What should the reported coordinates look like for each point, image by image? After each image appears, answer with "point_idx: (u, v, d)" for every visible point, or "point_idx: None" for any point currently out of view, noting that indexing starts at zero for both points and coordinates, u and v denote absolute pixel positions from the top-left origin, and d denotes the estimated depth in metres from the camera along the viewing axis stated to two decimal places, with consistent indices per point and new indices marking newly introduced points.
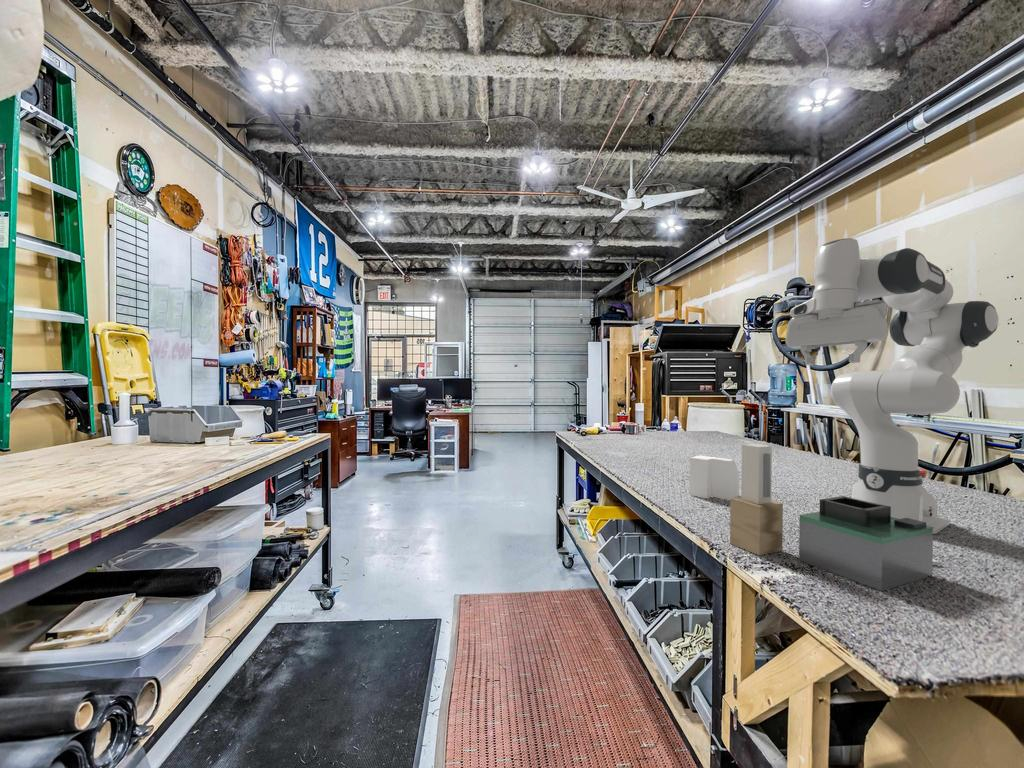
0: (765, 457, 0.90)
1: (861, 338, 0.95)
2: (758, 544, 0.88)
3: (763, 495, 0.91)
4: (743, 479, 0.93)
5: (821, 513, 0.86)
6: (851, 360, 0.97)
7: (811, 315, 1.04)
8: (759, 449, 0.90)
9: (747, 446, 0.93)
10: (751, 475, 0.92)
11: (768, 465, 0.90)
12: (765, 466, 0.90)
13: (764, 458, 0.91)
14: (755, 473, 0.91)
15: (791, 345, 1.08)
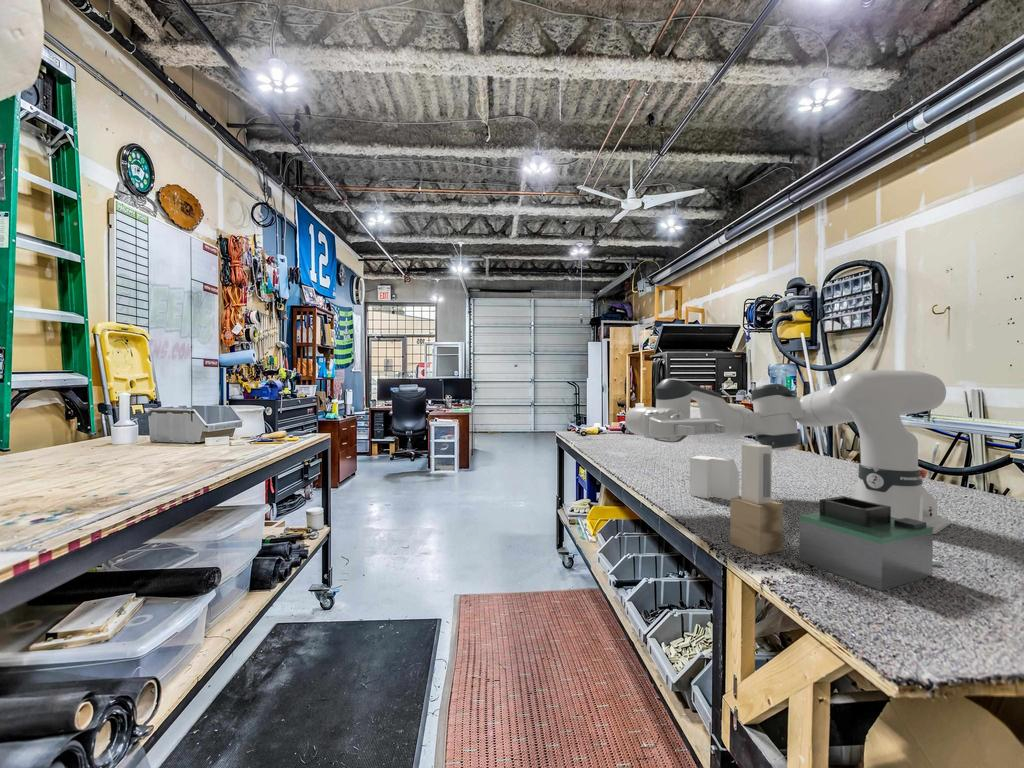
0: (765, 457, 0.90)
1: (713, 420, 1.11)
2: (758, 544, 0.88)
3: (763, 495, 0.91)
4: (743, 479, 0.93)
5: (821, 513, 0.86)
6: (722, 426, 1.06)
7: None
8: (759, 449, 0.90)
9: (747, 446, 0.93)
10: (751, 475, 0.92)
11: (768, 465, 0.90)
12: (765, 466, 0.90)
13: (764, 458, 0.91)
14: (755, 473, 0.91)
15: (668, 422, 1.06)
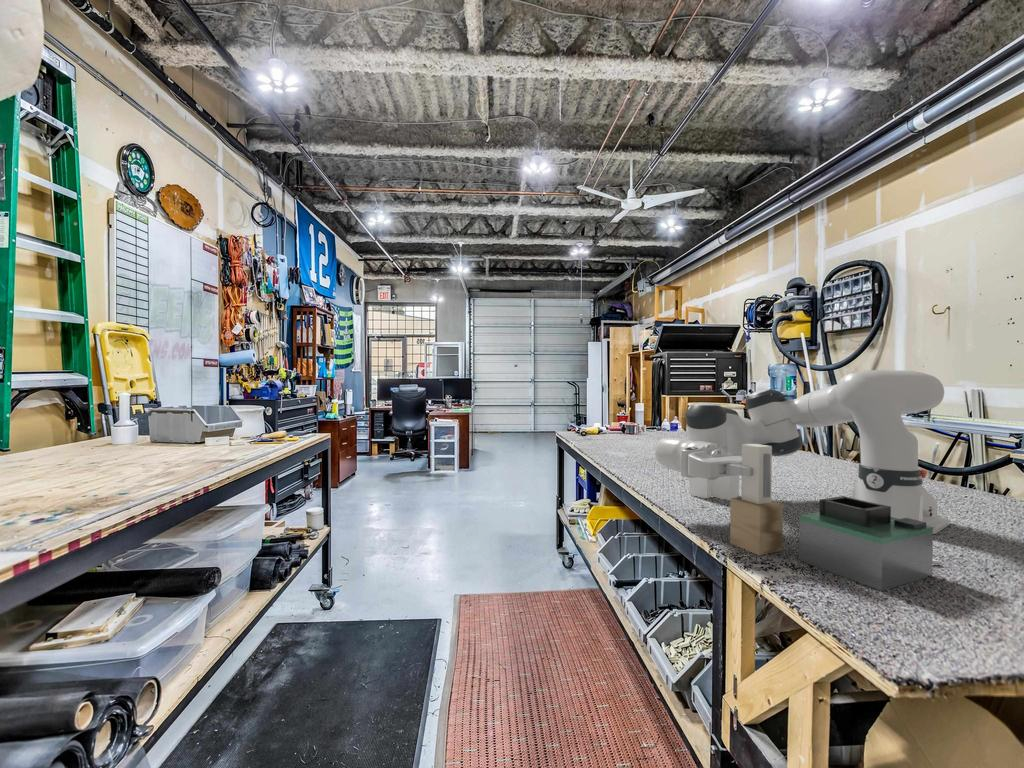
0: (765, 457, 0.90)
1: None
2: (758, 544, 0.88)
3: (763, 495, 0.91)
4: (743, 479, 0.93)
5: (821, 513, 0.86)
6: None
7: None
8: (759, 449, 0.90)
9: (747, 446, 0.93)
10: None
11: (768, 465, 0.90)
12: (765, 466, 0.90)
13: (764, 458, 0.91)
14: (756, 473, 0.91)
15: (712, 462, 0.93)
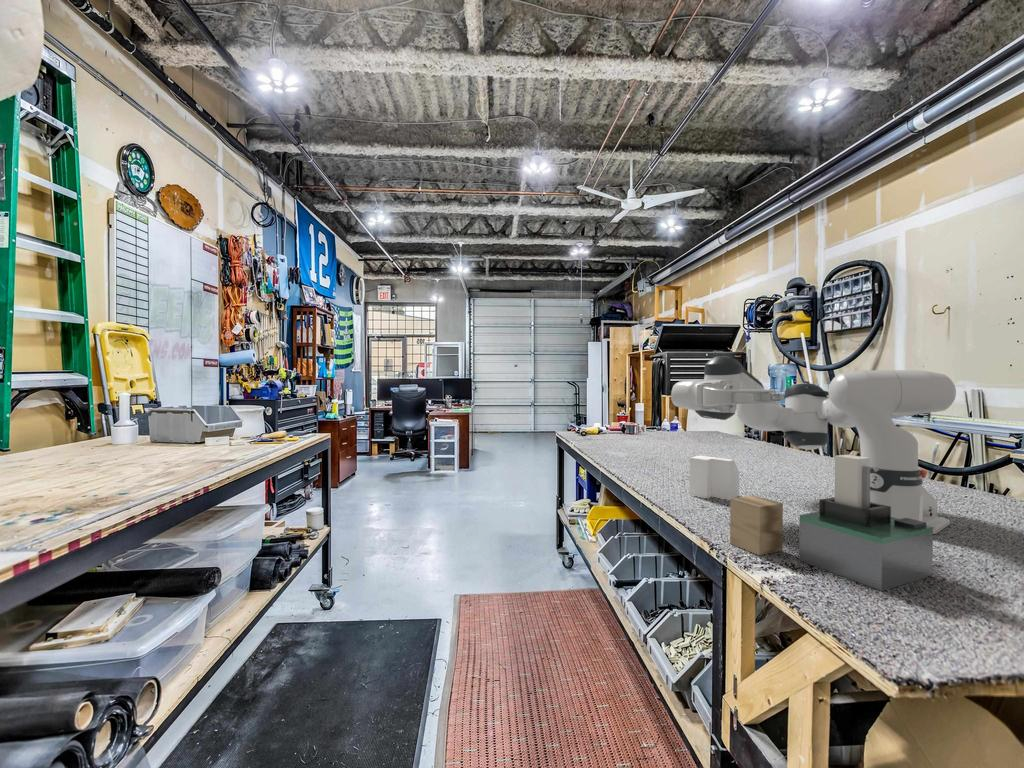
0: (864, 470, 0.82)
1: (768, 390, 1.10)
2: (758, 544, 0.88)
3: None
4: (837, 494, 0.85)
5: (821, 513, 0.86)
6: (780, 394, 1.05)
7: None
8: (858, 461, 0.82)
9: (842, 458, 0.84)
10: (847, 490, 0.84)
11: (868, 479, 0.82)
12: (864, 480, 0.82)
13: (863, 471, 0.82)
14: (854, 487, 0.83)
15: (725, 390, 1.04)
